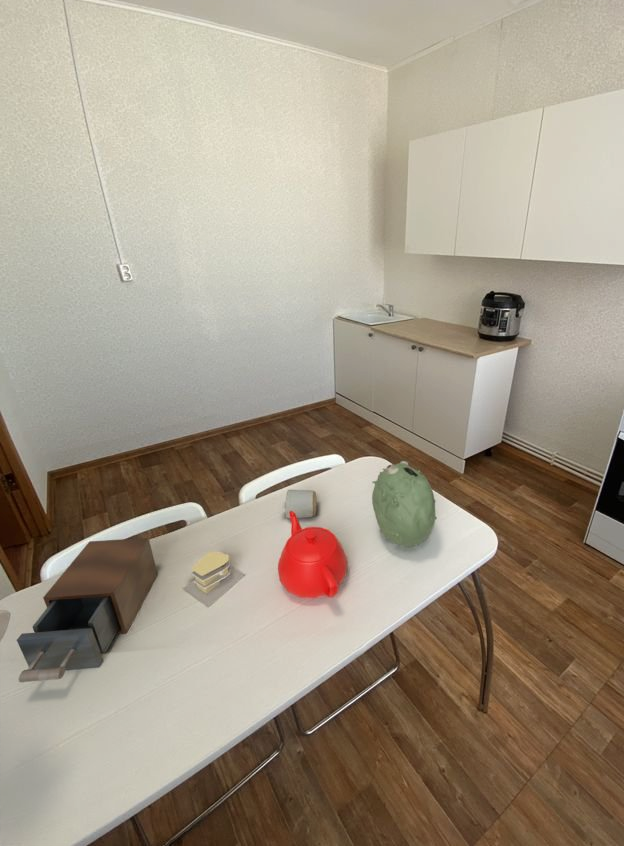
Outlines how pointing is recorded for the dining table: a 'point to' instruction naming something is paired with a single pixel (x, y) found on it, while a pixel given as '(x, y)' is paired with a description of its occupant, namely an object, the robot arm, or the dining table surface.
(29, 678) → the dark grey drawer
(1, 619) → the robot arm
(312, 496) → the ceramic mug
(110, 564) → the cabinet
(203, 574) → the stacked layers on plate
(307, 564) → the teapot
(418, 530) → the green bumpy oval shape
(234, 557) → the dining table surface
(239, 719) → the dining table surface
